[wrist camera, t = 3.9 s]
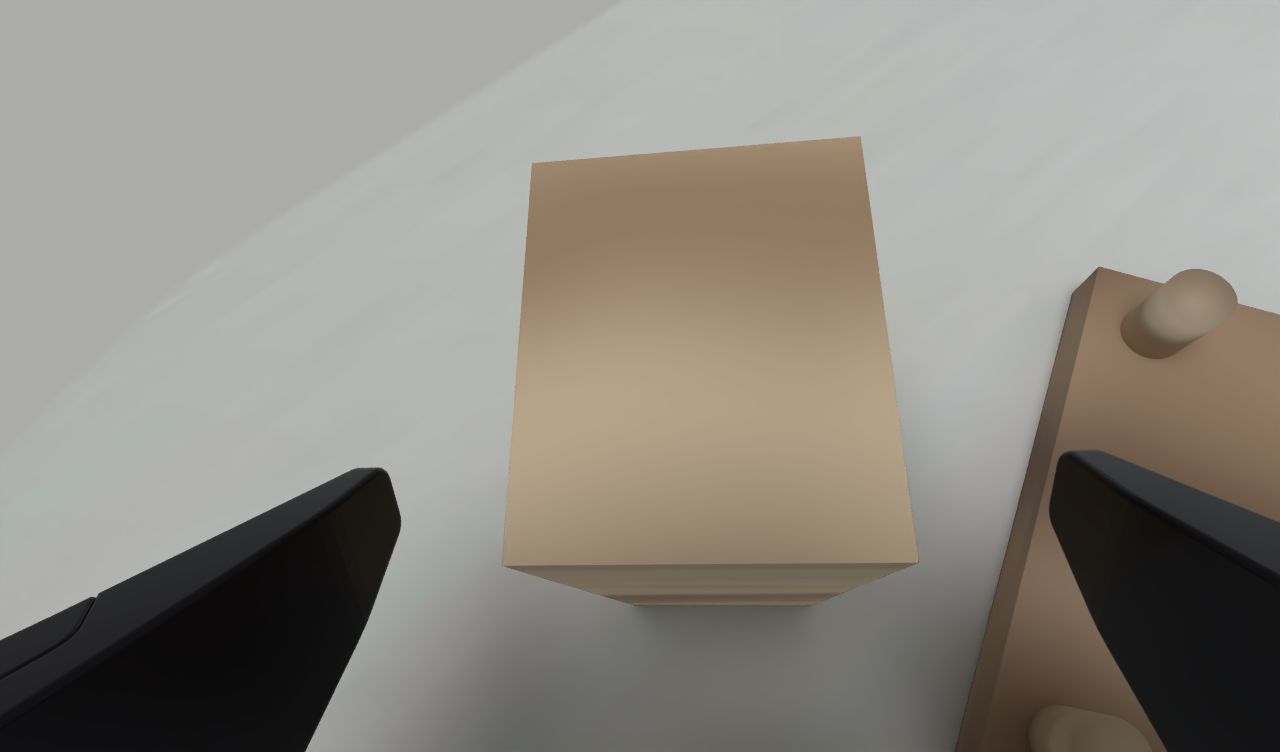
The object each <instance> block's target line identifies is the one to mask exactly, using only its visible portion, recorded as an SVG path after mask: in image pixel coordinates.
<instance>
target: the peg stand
mask: <svg viewBox="0 0 1280 752" xmlns="http://www.w3.org/2000/svg"><path fill="white" fill-rule="evenodd" d="M1068 450H1101V451H1104V452H1106V453H1109V454H1111V455H1114V456H1116V457H1119V458H1121V459H1124V460H1126V461H1129V462H1131V463H1134V464H1136V465H1139V466H1141V467H1144V468H1146V469H1149V470H1151V471H1154V472H1156V473H1159V474H1161V475H1164V476H1166V477H1169V478H1171V479H1174V480H1176V481H1179V482H1181V483H1184V484H1186V485H1189V486H1191V487H1194V488H1196V489H1199V490H1201V491H1204V492H1206V493H1209V494H1211V495H1214V496H1216V497H1219V498H1221V499H1224V500H1226V501H1229V502H1231V503H1234V504H1236V505H1239V506H1241V507H1244V508H1246V509H1249V510H1251V511H1254V512H1256V513H1259V514H1261V515H1264V516H1266V517H1269V518H1271V519H1274V520H1276V521H1279V522H1280V315H1279V314H1275V313H1271V312H1267V311H1264V310H1260V309H1256V308H1252V307H1249V306H1245V305H1241V304H1237V296H1236V293H1235V291H1234V289H1233V288H1232V286H1231V285H1230V284H1229V283H1228V282H1227V281H1226V280H1225V279H1224V278H1222V277H1221V276H1219V275H1217V274H1215V273H1213V272H1210V271H1207V270H1201V269H1189V270H1185V271H1182V272H1180V273H1178V274H1176V275H1175V276H1173V277H1172V278H1171V279H1170V280H1169V281H1167V282H1166V283H1165V284H1162V283H1159V282H1155V281H1151V280H1147V279H1144V278H1140V277H1136V276H1132V275H1129V274H1125V273H1121V272H1117V271H1114V270H1110V269H1106V268H1102V267H1098V268H1097V269H1096V270H1095V271H1094V272H1093V273H1092V274H1091V275H1090V276H1089V277H1088V278H1087V279H1086V280H1085V281H1084V282H1083V283H1082V284H1081V285H1080V286H1079V287H1078V288H1077V289H1076V290H1075V291H1074V292H1073V294H1072V298H1071V301H1070V305H1069V309H1068V313H1067V317H1066V321H1065V325H1064V329H1063V333H1062V337H1061V340H1060V344H1059V348H1058V352H1057V356H1056V360H1055V364H1054V368H1053V372H1052V376H1051V379H1050V383H1049V387H1048V391H1047V395H1046V399H1045V403H1044V407H1043V411H1042V415H1041V419H1040V422H1039V426H1038V430H1037V434H1036V438H1035V442H1034V446H1033V450H1032V454H1031V458H1030V461H1029V465H1028V469H1027V473H1026V477H1025V481H1024V485H1023V489H1022V493H1021V497H1020V501H1019V504H1018V508H1017V512H1016V516H1015V520H1014V524H1013V528H1012V532H1011V536H1010V540H1009V543H1008V547H1007V551H1006V555H1005V559H1004V563H1003V567H1002V571H1001V575H1000V579H999V582H998V586H997V590H996V594H995V598H994V602H993V606H992V610H991V614H990V618H989V622H988V625H987V629H986V633H985V637H984V641H983V645H982V649H981V653H980V657H979V661H978V664H977V668H976V672H975V676H974V680H973V684H972V688H971V692H970V696H969V700H968V704H967V707H966V711H965V715H964V719H963V723H962V727H961V731H960V735H959V739H958V743H957V746H956V750H955V752H1167V751H1166V749H1165V747H1164V745H1163V744H1162V742H1161V740H1160V738H1159V737H1158V735H1157V733H1156V731H1155V730H1154V728H1153V726H1152V725H1151V723H1150V721H1149V719H1148V718H1147V716H1146V714H1145V712H1144V711H1143V709H1142V707H1141V705H1140V704H1139V702H1138V700H1137V698H1136V697H1135V695H1134V693H1133V691H1132V690H1131V688H1130V686H1129V684H1128V683H1127V681H1126V679H1125V677H1124V676H1123V674H1122V672H1121V671H1120V669H1119V667H1118V665H1117V664H1116V662H1115V660H1114V658H1113V657H1112V655H1111V653H1110V651H1109V650H1108V648H1107V646H1106V644H1105V642H1104V641H1103V639H1102V637H1101V635H1100V633H1099V631H1098V629H1097V628H1096V625H1095V623H1094V621H1093V619H1092V617H1091V615H1090V613H1089V611H1088V608H1087V606H1086V604H1085V601H1084V599H1083V597H1082V594H1081V592H1080V590H1079V587H1078V585H1077V583H1076V580H1075V578H1074V576H1073V573H1072V571H1071V569H1070V566H1069V564H1068V562H1067V560H1066V557H1065V555H1064V553H1063V550H1062V548H1061V546H1060V543H1059V541H1058V539H1057V536H1056V534H1055V532H1054V529H1053V527H1052V525H1051V521H1050V517H1049V501H1050V496H1051V491H1052V486H1053V481H1054V475H1055V470H1056V465H1057V461H1058V459H1059V457H1060V455H1061V454H1062V453H1063V452H1065V451H1068Z"/></svg>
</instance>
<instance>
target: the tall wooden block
mask: <svg viewBox="0 0 1280 752" xmlns="http://www.w3.org/2000/svg"><path fill="white" fill-rule="evenodd" d="M917 563H919V560H918V553H917V546H916V538H915V531H914V524H913V516H912V509H911V502H910V494H909V487H908V480H907V472H906V465H905V458H904V451H903V443H902V436H901V429H900V421H899V414H898V407H897V399H896V392H895V385H894V377H893V370H892V363H891V355H890V348H889V341H888V334H887V326H886V319H885V312H884V304H883V297H882V290H881V282H880V275H879V268H878V260H877V253H876V246H875V238H874V231H873V224H872V217H871V209H870V202H869V195H868V187H867V180H866V173H865V165H864V158H863V151H862V143H861V136H859V137H847V138H835V139H823V140H811V141H798V142H786V143H774V144H762V145H750V146H738V147H725V148H713V149H701V150H689V151H677V152H664V153H652V154H640V155H628V156H616V157H603V158H591V159H579V160H567V161H555V162H542V163H532V172H531V185H530V199H529V212H528V225H527V239H526V252H525V265H524V279H523V292H522V305H521V319H520V332H519V346H518V359H517V372H516V386H515V399H514V412H513V426H512V439H511V452H510V466H509V479H508V493H507V506H506V519H505V533H504V546H503V559H502V566H505V567H508V568H511V569H515V570H518V571H521V572H525V573H528V574H531V575H535V576H538V577H541V578H545V579H548V580H551V581H555V582H558V583H561V584H565V585H568V586H571V587H575V588H578V589H581V590H585V591H588V592H591V593H595V594H598V595H601V596H605V597H608V598H611V599H615V600H618V601H621V602H625V603H628V604H631V605H635V606H811V605H813V604H816V603H818V602H821V601H823V600H826V599H828V598H831V597H833V596H836V595H838V594H841V593H843V592H846V591H848V590H851V589H853V588H856V587H858V586H861V585H864V584H866V583H869V582H871V581H874V580H876V579H879V578H881V577H884V576H886V575H889V574H891V573H894V572H896V571H899V570H901V569H904V568H906V567H909V566H912V565H914V564H917Z"/></svg>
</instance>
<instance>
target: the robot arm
mask: <svg viewBox="0 0 1280 752" xmlns="http://www.w3.org/2000/svg"><path fill="white" fill-rule="evenodd" d="M1049 517H1050V521H1051V525H1052V527H1053V529H1054V532H1055V534H1056V536H1057V539H1058V541H1059V543H1060V546H1061V548H1062V550H1063V553H1064V555H1065V557H1066V560H1067V562H1068V564H1069V566H1070V569H1071V571H1072V573H1073V576H1074V578H1075V580H1076V583H1077V585H1078V587H1079V590H1080V592H1081V594H1082V597H1083V599H1084V601H1085V604H1086V606H1087V608H1088V611H1089V613H1090V615H1091V617H1092V619H1093V621H1094V623H1095V625H1096V628H1097V629H1098V631H1099V633H1100V635H1101V637H1102V639H1103V641H1104V642H1105V644H1106V646H1107V648H1108V650H1109V651H1110V653H1111V655H1112V657H1113V658H1114V660H1115V662H1116V664H1117V665H1118V667H1119V669H1120V671H1121V672H1122V674H1123V676H1124V677H1125V679H1126V681H1127V683H1128V684H1129V686H1130V688H1131V690H1132V691H1133V693H1134V695H1135V697H1136V698H1137V700H1138V702H1139V704H1140V705H1141V707H1142V709H1143V711H1144V712H1145V714H1146V716H1147V718H1148V719H1149V721H1150V723H1151V725H1152V726H1153V728H1154V730H1155V731H1156V733H1157V735H1158V737H1159V738H1160V740H1161V742H1162V744H1163V745H1164V747H1165V749H1166V751H1167V752H1280V522H1279V521H1276V520H1274V519H1271V518H1269V517H1266V516H1264V515H1261V514H1259V513H1256V512H1254V511H1251V510H1249V509H1246V508H1244V507H1241V506H1239V505H1236V504H1234V503H1231V502H1229V501H1226V500H1224V499H1221V498H1219V497H1216V496H1214V495H1211V494H1209V493H1206V492H1204V491H1201V490H1199V489H1196V488H1194V487H1191V486H1189V485H1186V484H1184V483H1181V482H1179V481H1176V480H1174V479H1171V478H1169V477H1166V476H1164V475H1161V474H1159V473H1156V472H1154V471H1151V470H1149V469H1146V468H1144V467H1141V466H1139V465H1136V464H1134V463H1131V462H1129V461H1126V460H1124V459H1121V458H1119V457H1116V456H1114V455H1111V454H1109V453H1106V452H1104V451H1101V450H1068V451H1065V452H1063V453H1062V454H1061V455H1060V457H1059V459H1058V461H1057V465H1056V470H1055V475H1054V481H1053V486H1052V491H1051V496H1050V501H1049ZM400 528H401V516H400V512H399V508H398V504H397V501H396V497H395V494H394V490H393V487H392V483H391V480H390V477H389V474H388V473H387V471H385V470H384V469H382V468H356V469H353V470H351V471H349V472H347V473H344V474H342V475H340V476H338V477H336V478H334V479H332V480H330V481H328V482H326V483H324V484H322V485H320V486H318V487H316V488H314V489H312V490H310V491H308V492H306V493H303V494H301V495H299V496H297V497H295V498H293V499H291V500H289V501H287V502H285V503H283V504H281V505H279V506H277V507H275V508H273V509H271V510H269V511H267V512H264V513H262V514H260V515H258V516H256V517H254V518H252V519H250V520H248V521H246V522H244V523H242V524H240V525H238V526H236V527H234V528H232V529H230V530H228V531H225V532H223V533H221V534H219V535H217V536H215V537H213V538H211V539H209V540H207V541H205V542H203V543H201V544H199V545H197V546H195V547H193V548H191V549H189V550H187V551H184V552H182V553H180V554H178V555H176V556H174V557H172V558H170V559H168V560H166V561H164V562H162V563H160V564H158V565H156V566H154V567H152V568H150V569H148V570H145V571H143V572H141V573H139V574H137V575H135V576H133V577H131V578H129V579H127V580H125V581H123V582H121V583H119V584H117V585H115V586H113V587H111V588H109V589H106V590H104V591H102V592H100V593H99V594H98V595H97V597H96V598H95V597H90V598H88V599H86V600H84V601H82V602H80V603H77V604H75V605H73V606H71V607H69V608H67V609H65V610H63V611H61V612H59V613H57V614H55V615H53V616H51V617H49V618H46V619H44V620H42V621H40V622H38V623H36V624H34V625H32V626H30V627H27V628H25V629H23V630H21V631H19V632H17V633H15V634H13V635H11V636H8V637H6V638H4V639H2V640H0V752H305V751H306V749H307V747H308V745H309V743H310V741H311V739H312V737H313V735H314V732H315V730H316V728H317V726H318V724H319V722H320V720H321V718H322V716H323V714H324V712H325V710H326V708H327V706H328V704H329V701H330V699H331V697H332V695H333V693H334V691H335V689H336V687H337V685H338V683H339V681H340V679H341V677H342V675H343V673H344V670H345V668H346V666H347V664H348V662H349V660H350V658H351V656H352V654H353V652H354V650H355V648H356V646H357V644H358V642H359V639H360V637H361V635H362V633H363V630H364V628H365V626H366V624H367V621H368V619H369V616H370V614H371V611H372V609H373V606H374V603H375V600H376V597H377V595H378V592H379V589H380V586H381V583H382V581H383V578H384V575H385V572H386V569H387V567H388V564H389V561H390V558H391V555H392V553H393V550H394V547H395V544H396V541H397V539H398V536H399V533H400Z"/></svg>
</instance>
